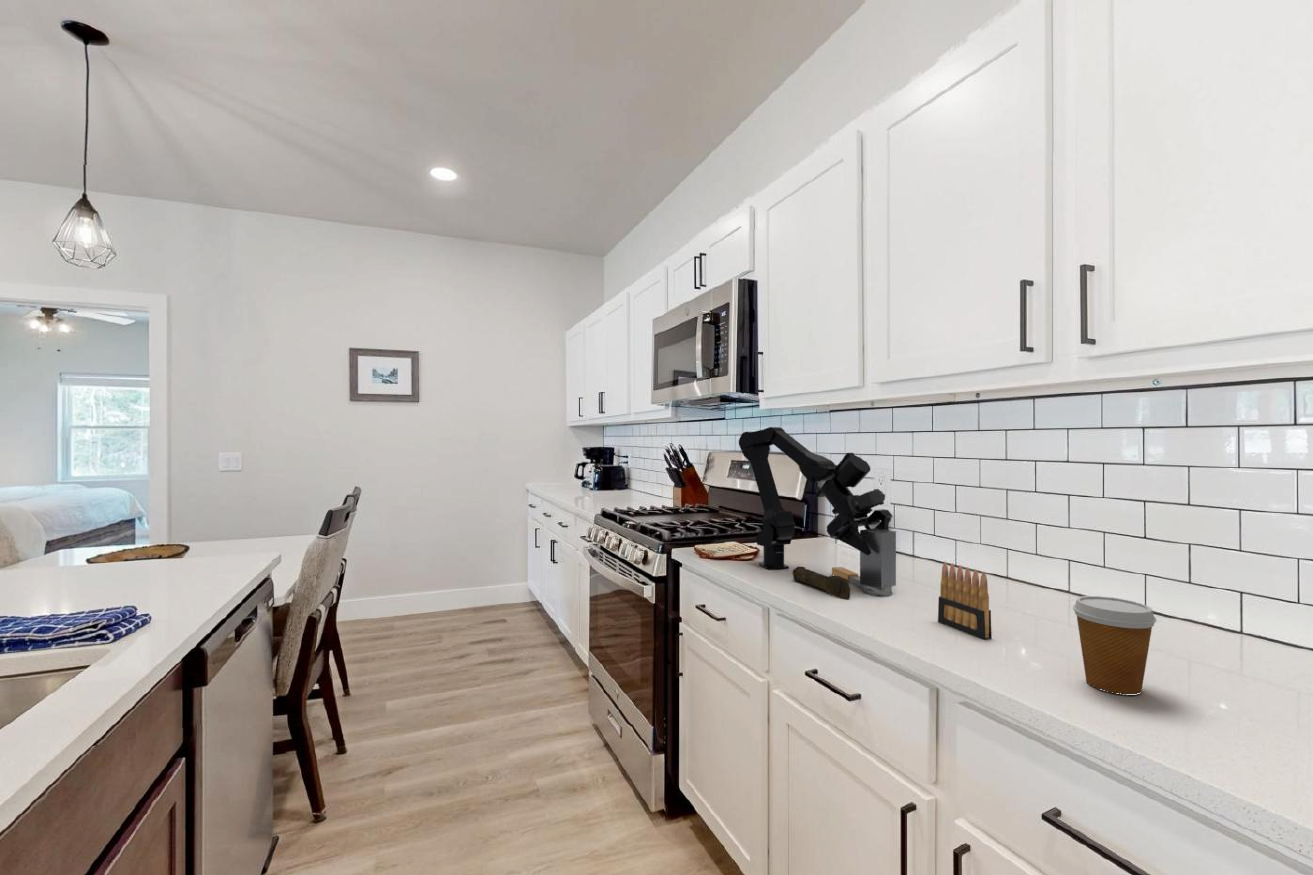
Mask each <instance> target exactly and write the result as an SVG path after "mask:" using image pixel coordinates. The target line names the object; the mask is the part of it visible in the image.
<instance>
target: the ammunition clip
mask: <svg viewBox="0 0 1313 875" xmlns="http://www.w3.org/2000/svg"><path fill="white" fill-rule="evenodd" d="M939 591H940V595H939V596H938V603H937V604H938V606H937V612H938V613H937V622H938V623H939V624H941V625H944V626H947V627H950V628H952V629H955V630H958V631H959V632H963V633H965V634H967V635H970V636H973V637H975V638H978V639H981V640H983V641H985V640H990V639H992V636H993V635H992V633H993V632H992V611H991V609H990V595H989V588H988V578H987V575H986V571H982V572H981V576H980V577H979V572H978V570H977V569H976V568H975V569H974V570H973V573H972V574H971V571H970V568H969V566H968V567H966V568H965V570H964V571H963V568H962V565H959V566H958V568H957V571H956V568H955V565H954V563H951V564H950V567H949V566H948V563H947V562H946V561H944V562H943V564H942V568H941V580H940V590H939Z"/></svg>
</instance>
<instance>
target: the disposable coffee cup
mask: <svg viewBox="0 0 1313 875" xmlns="http://www.w3.org/2000/svg"><path fill="white" fill-rule="evenodd" d="M1072 609H1073V611H1074V614H1075V615H1076V619H1077V627H1078V634H1079V642H1080V648H1081V654H1082V661H1083V666H1084V675H1085V681H1087V682H1088V683H1089V684H1090V685H1092V686H1094V687H1096V688H1098V689H1097V690H1099V689H1102V690H1105V691H1108V692H1113V693H1119V694H1120V693H1121V694H1137V693H1140V692H1141V693H1142V691H1143V690H1142V689H1143V683H1144V678H1145V672H1146V668H1147V667H1146V666H1147V661H1148V660H1147V659H1148V655H1149V648H1150V641H1151V635H1152V630H1153V627H1154V626H1155V623H1156V622H1157V621H1158V620H1157V617H1156V616H1154V612H1153V609H1152V608H1151V607H1150V606H1148V605H1146V604H1143V603H1140V602H1136V601H1133V600H1128V599H1124V598H1117V597H1111V596H1110V597H1109V596H1103V595H1102V596H1101V595H1100V596H1099V595H1082V596H1079V597H1077V598H1076V600H1075V604H1074V605H1073V606H1072ZM1087 682H1086V683H1087ZM1088 683H1087V684H1088ZM1089 684H1088V685H1089ZM1090 685H1089V686H1090ZM1092 686H1091V687H1092ZM1094 687H1093V688H1094ZM1096 688H1095V689H1096ZM1108 692H1107V693H1108Z"/></svg>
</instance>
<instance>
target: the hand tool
mask: <svg viewBox="0 0 1313 875" xmlns="http://www.w3.org/2000/svg"><path fill="white" fill-rule="evenodd" d="M792 578H793V580H794V581H795V582H798V583H803V584H807V585H810V586H812V587H815V588H817V589H821V590H823V591H825V592H827V593H828V595H829V594H831V595H830V596H832V595H833V597H835V596H836V598H839V597H840V599H844V600H850V598H851V587H850V583H849V582H848V580H847V579H845V578H842V577H840V576H833V575H829V576H828V575H824V574H821V573H818V572H816V571H814V570H810V569H807V568H806V567H804V566H796V567H795V568H794V569H793V570H792Z"/></svg>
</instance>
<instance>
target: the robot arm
mask: <svg viewBox="0 0 1313 875" xmlns="http://www.w3.org/2000/svg"><path fill="white" fill-rule="evenodd" d="M772 445H774V446H775V447H776V448H777V449H779V450H780V451H781V452H782V453H784V454H785V455H786V456H787V457H788V458H789V459H791V460H792V461H793V462H795V464H796V465H797V466H798V468H799V471H800V473H801V474H802V475H803V477H804V478H805V479H806V480H807V481H808V482H810V483H822V485H820V486H816V491H815V498H825V499H827V501H828V502H829V504H830V505H831V506H832V508H833V509H832V510H831V512H832V514H833V515H836V516H835V517H834V518H833V519H831V521H830V522H829V523H828V524H827V525H826V533H827V534H828V535H829V537H830V538H831V539H833V538H835V540H837V541H841V542H842V543H845V544H846V545H848V546H850V547H852V548H854V549H856V550H858V551H861V552H863V553H864V554H866V555H870V554H871V551H870V549H869V547H868V545H867V544H866V542H865V541H864V539H863V538H862V536H861V534H860V529H859V527H864V529H865V530H866V529H873V528H876V529H883V530H890V529H889V525H890V522H891V521H892V518H893V515H892V513H891V511H890V510H889V509H883V508H882V509H875V510H874V511H873V509H872V508H875V507H878V506H881V505H882V506H883V505H884V504H885V500H886V494H885V493H883V492H882V491H881V490H880V489H879V488H876V489H875V488H874V489H873V490H870V491H867V492H865V493H864V492H863V493H862V494H860V495H859V494H855V495H854V494H853V493H852V491H851V490H850V489H849V488H856V487H857V486H858V485H859V484H860V483H861V481H862V480H864V478H865V477H866V476H867V475H868V474H869V473H870V472H871V466H870V464H869V463H868V462H867V460H864V459H863V458H861V457H859V456H857V455H856V454H854V452H847V453H846V454H845V455H844V456H843V457H842V460H841V461H839V463H838V464H835V462H834V461H832V460H831V459H829V458H828V457H825V456H823V455H819V454H817V453H815V452H812V451H811V450H809V449H808V448H806V447H805V446H804V445H803V444H801V443H800V442H799V441H798V440H796V439H795V438H793V437H792V436H791V435H790V434H789V433H787V432H786V431H785V429H783V428H782V427H780V426H774V427H773V426H768V427H767V428H764V429H759V430H755V431H744V432H742V433H741V435H740V438H739V439H738V446H739V449H740V451H741V453H742V455H743V456H744V457H745V459H746V460H748V462H749V464H750V465H751V468H752V472H753V474H754V475H753V476H754V479H755V483H756V486H757V489H758V492H759V497H760V501H761V503H762V507H763V515H762V520H761V525H762V529H761V531H760V532H759V533H758V534H757V535H756V537H755V540H756V544H757V545H758V546H762V548H763V551H762V552H763V554H762V555H763V557H762V558H763V559H762V560H763V562H759V563H758V565H759V566H761V567H763V568H765V569H766V570H777V569H778V570H779V569H780V570H782V569H789V568H790V565H787V564H785V545H790V544H791V542H792V540H793V537H794V535H795V533H796V528H795V526H796V525H797V524H796V522H795V520H794V517H793V513H792V510H785V508H784V507H783V506H782V503H781V500H780V496H779V493H778V490H777V486H776V483H775V480H774V476H773V473H772V469H771V466H770V462H769V454H770V451H771V447H770V446H772ZM823 482H824V483H823ZM871 512H872V513H871ZM868 514H869V515H868Z"/></svg>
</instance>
